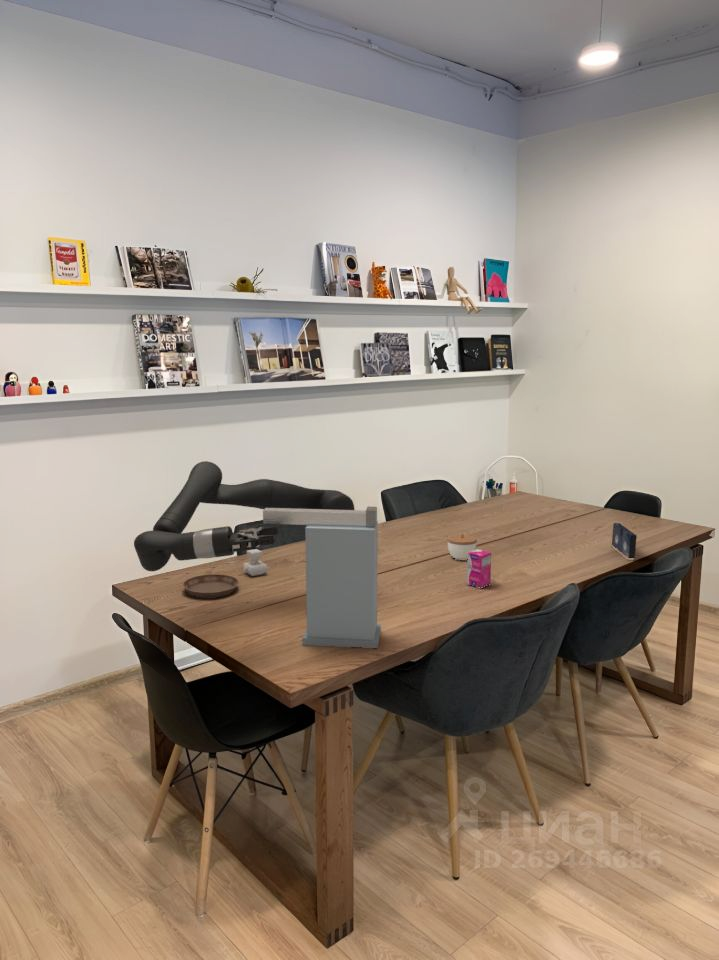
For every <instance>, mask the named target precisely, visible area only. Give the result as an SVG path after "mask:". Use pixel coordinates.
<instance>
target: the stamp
mask: <svg viewBox="0 0 719 960" xmlns="http://www.w3.org/2000/svg"><path fill="white" fill-rule="evenodd" d="M246 555H247V557H248V558H249V559H251V561H247V562H243V564H242V568H243V570H242V571H243V572H244V573H246V574H248V575H250V576H252V577H255V576H262V575H264V574H265V572H267V570H268V569H269V567H268V565H267V563H264V562H262V561H260V560H259V559H260V558H262V557H263V551H261V550H259V549H257V548H256V549H254V550H246Z"/></svg>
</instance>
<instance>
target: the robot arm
mask: <svg viewBox="0 0 719 960" xmlns="http://www.w3.org/2000/svg"><path fill="white" fill-rule="evenodd" d="M222 480H223V471H222V470H221V468H220V467H219V466H218V465H217V464H216V463H214V462H212V461H207V460H206V461H205V460H204V461H199V462H198V463H196V464H195V465H194V466H193V467H192V469H191V470H190V473H189V475H188V478H187V481H186V482H185V484H184V485H183V487H182V489H181V490H180V491H179V493H178V494H177V495H176V497H175V498H174V499H173V501H172V502H171V504H169V506H168V507H167V508H166V510H165V511H164V512H163V513H162V515H161V516H160V517H159V518H158V520H157V521H156V522H155V523H154V525H153V527H152V530H147V531H144V532H141V533H140V534H138V535H137V536H136V537H135V538H134V541H133V547H134V550H135V553H136V555H137V558H138V560H139V563H140V565H141V567H142V569H144V570H145V571H148V572H156V571H159V570H161V569H163V568H164V567H165V566H166V565H167V563H168V562H169V560H170V559H171V557H172V556H173V557H174V558H175V559H176V560H177V561H191V560H197V559H198V560H199V559H213V558H220V557H222V558H223V557H228V556H229V557H230V556H233V555H234V554H235V553H236V552H244V551H248V550H254V549H257V548H259V547H260V546H266V545H273V544H275V542H276V538H275V536H278V535H279V527H278V526H270V527H269V526H268V527H263V526H262V525H256V526H249V527H243V528H242V527H241V528H239V530H238V532H233V529H232V527H231V526H229V525H228V526H227V525H226V526H221V527H212V528H205V529H200V530H197V531H196V530H195V531H190V532H184V531H185V529H186V528H187V526H188V524H189V523H190V521H191V519H192V518H193V515H194V514H195V512H196V510H197V508H198V506H199V505H200V503H202V504H213V505H226V506H227V505H229V506H239V507H247V508H255V509H260V510H264V509H265V508H292V509H328V510H355V504H354V501H353V499H351V497H350V496H348V495H347V494H345V493H343V492H341V491H340V490H335V489H333V490H332V489H319V488H318V489H317V488H308V487H305V486H304V487H303V486H300V485H297V484H292V483H290V482H284V481H280V480H274V479H267V478H260V479H254V480H250V481H247V482H243V483H238V484H226V483H225V484H224V483H222Z"/></svg>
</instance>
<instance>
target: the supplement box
mask: <svg viewBox="0 0 719 960" xmlns="http://www.w3.org/2000/svg"><path fill="white" fill-rule="evenodd" d="M466 564H467V566H466V567H467V569H466V573H467V574H466V585H467V584H469V585H472V586H471V587H473V586H477V587H480V588H481V587H484V586H486V585H489V584H490V585H491V574H492V552H490V551H486V550H482V549H480V548H479V549H478V548H476V549H475V550H474V551H471V552H468V560H467V563H466ZM469 585H468V586H469ZM484 588H485V587H484Z"/></svg>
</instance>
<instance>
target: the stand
mask: <svg viewBox="0 0 719 960" xmlns="http://www.w3.org/2000/svg"><path fill="white" fill-rule="evenodd" d="M378 526H379V521H378V520H377V524H376V527H361V526H327V525H306V527H305V528H304V529H305V583H306V584H305V595H306V596H305V600H306V604H305V605H306V608H305V610H306V614H305V615H306V630H305V632H304V634H303V636H302V638H301V639H302V640H301V641H302V646H310V647H311V646H312V647H313V646H315V647H331V646H334V647H333V648H337V647H338V648H351V647H362V648H361V649H372V648H377V649H378V648H379V647H378V646H379V641H380V638H379V637H381V632H382V624H380V623H379V624H378V563H379V562H378V559H379V557H378V545H379V541H378V539H379V538H378V537H379V536H378V535H379V527H378Z"/></svg>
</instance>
